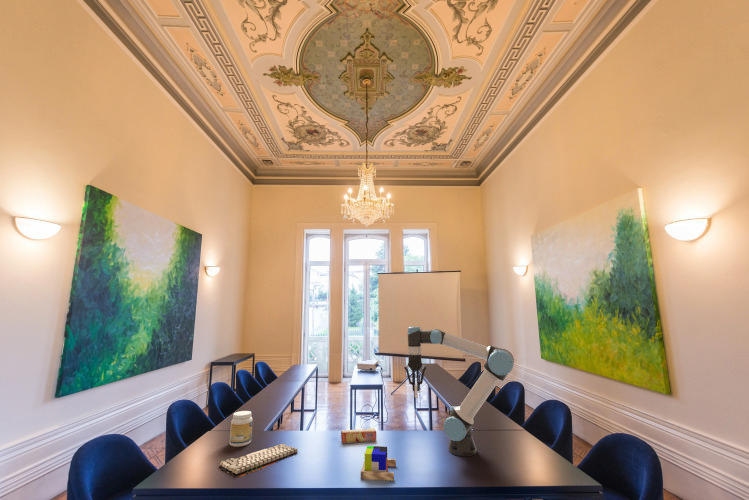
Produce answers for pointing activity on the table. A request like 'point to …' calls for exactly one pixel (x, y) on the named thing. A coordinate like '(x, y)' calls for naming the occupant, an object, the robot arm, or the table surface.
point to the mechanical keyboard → (257, 460)
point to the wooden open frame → (379, 475)
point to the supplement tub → (241, 429)
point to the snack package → (358, 435)
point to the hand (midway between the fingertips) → (416, 397)
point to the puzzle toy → (376, 459)
